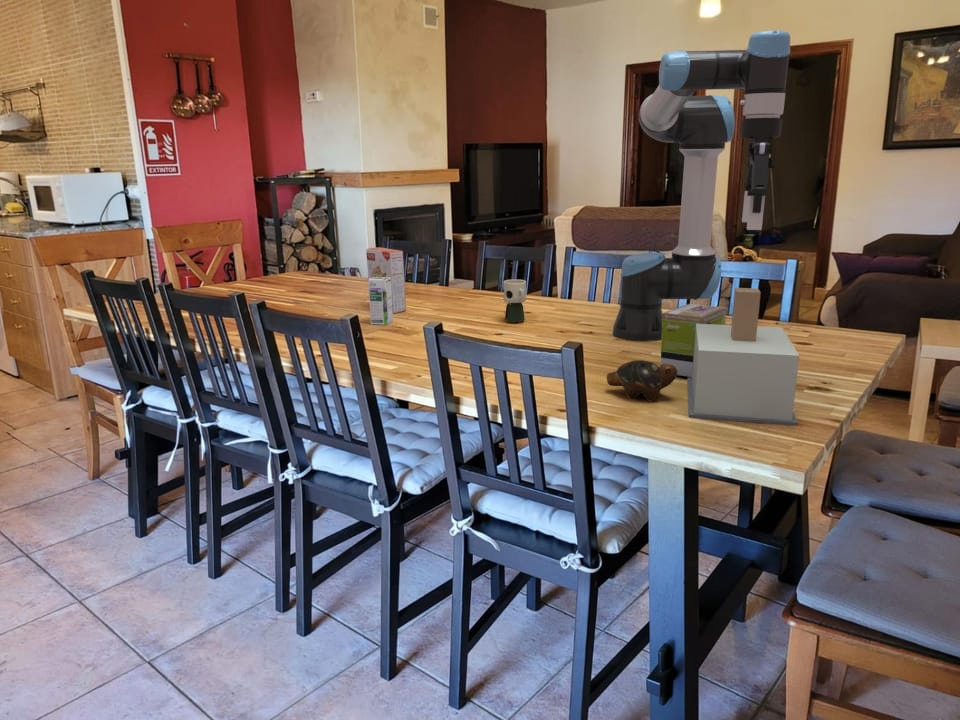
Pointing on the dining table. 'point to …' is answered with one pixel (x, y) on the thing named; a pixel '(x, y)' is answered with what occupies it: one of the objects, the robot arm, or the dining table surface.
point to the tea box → (685, 333)
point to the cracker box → (389, 273)
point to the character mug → (514, 299)
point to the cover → (744, 365)
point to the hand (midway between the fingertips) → (751, 225)
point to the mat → (732, 418)
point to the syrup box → (380, 300)
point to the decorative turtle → (642, 378)
